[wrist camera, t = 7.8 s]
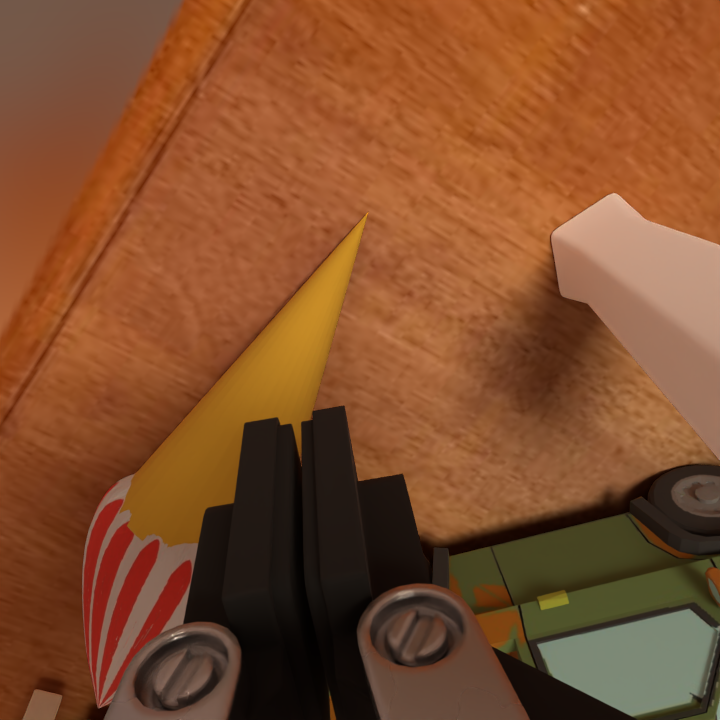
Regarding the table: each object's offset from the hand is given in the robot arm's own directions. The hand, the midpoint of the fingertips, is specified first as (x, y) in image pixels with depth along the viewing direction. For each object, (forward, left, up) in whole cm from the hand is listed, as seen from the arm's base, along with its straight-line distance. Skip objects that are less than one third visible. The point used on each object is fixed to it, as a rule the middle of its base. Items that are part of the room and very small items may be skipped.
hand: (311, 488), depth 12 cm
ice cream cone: (+1, -7, -13) cm, 15 cm away
